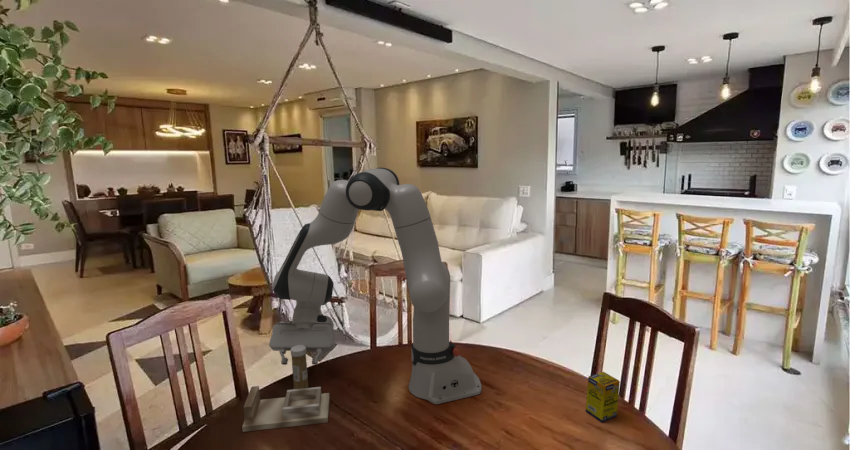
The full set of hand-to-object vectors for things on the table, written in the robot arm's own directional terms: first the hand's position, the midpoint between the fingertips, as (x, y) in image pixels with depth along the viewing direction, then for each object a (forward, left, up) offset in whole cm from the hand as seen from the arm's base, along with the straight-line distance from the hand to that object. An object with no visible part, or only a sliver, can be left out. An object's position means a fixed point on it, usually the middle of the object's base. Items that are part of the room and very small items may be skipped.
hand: (299, 364), depth 135 cm
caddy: (+2, +13, -8) cm, 15 cm away
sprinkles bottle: (0, 0, -8) cm, 8 cm away
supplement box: (-84, +29, -8) cm, 89 cm away
